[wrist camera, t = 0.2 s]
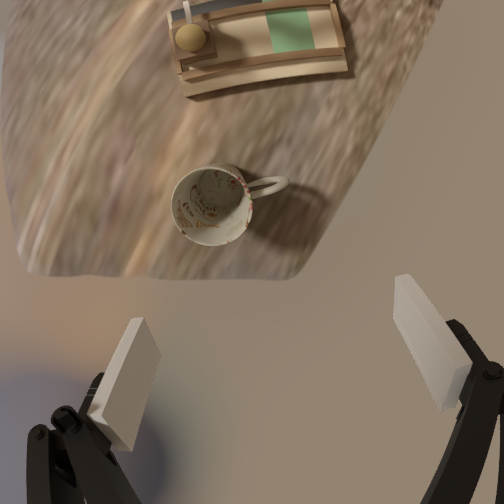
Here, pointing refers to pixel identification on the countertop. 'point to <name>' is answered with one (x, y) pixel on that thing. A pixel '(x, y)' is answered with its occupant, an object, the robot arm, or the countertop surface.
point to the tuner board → (262, 42)
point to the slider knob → (194, 40)
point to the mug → (217, 203)
